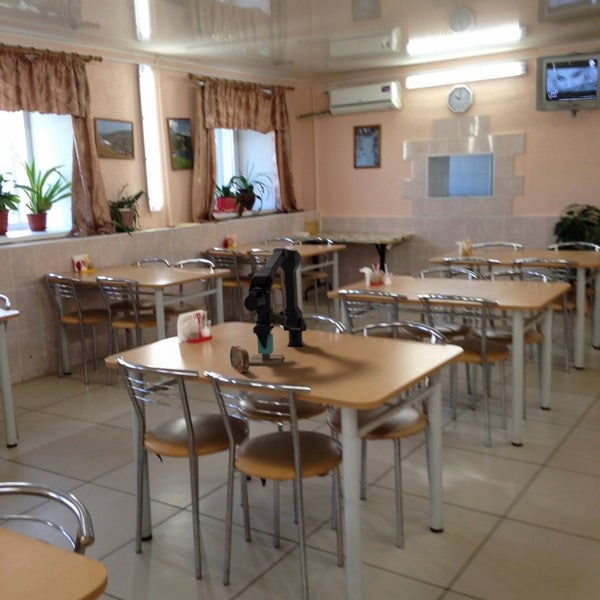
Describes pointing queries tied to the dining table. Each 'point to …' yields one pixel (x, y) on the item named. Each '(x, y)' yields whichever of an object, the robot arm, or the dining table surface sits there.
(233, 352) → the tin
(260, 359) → the post stand
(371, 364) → the dining table surface
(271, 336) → the teal rectangular block
